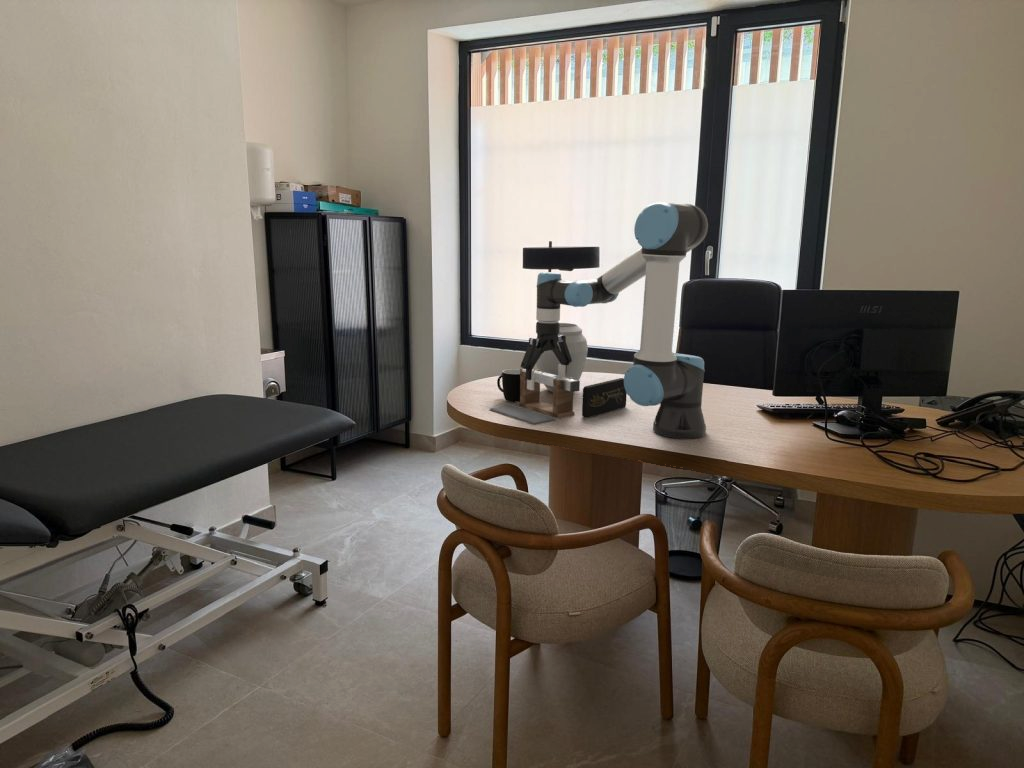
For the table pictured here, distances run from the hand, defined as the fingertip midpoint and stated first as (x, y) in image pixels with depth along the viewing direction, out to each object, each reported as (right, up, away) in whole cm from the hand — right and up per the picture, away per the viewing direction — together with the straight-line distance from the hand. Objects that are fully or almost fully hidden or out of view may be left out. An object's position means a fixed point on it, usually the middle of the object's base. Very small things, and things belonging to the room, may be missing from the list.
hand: (546, 386), depth 225 cm
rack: (0, -8, +2) cm, 8 cm away
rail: (+1, +1, -1) cm, 2 cm away
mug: (-11, -5, +15) cm, 20 cm away
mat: (-8, -9, -5) cm, 13 cm away
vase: (+6, -2, +29) cm, 30 cm away
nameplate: (+19, -9, +1) cm, 21 cm away
